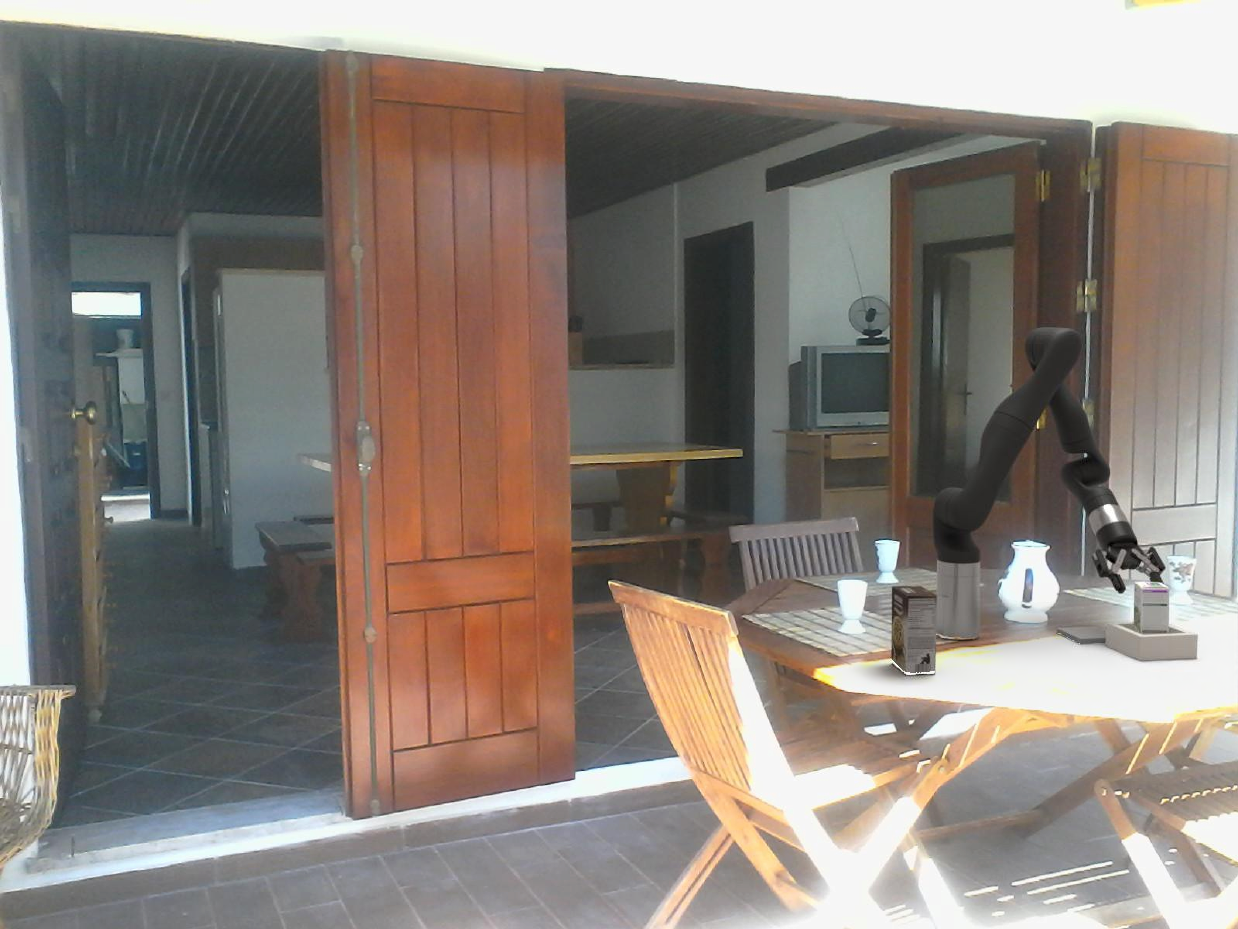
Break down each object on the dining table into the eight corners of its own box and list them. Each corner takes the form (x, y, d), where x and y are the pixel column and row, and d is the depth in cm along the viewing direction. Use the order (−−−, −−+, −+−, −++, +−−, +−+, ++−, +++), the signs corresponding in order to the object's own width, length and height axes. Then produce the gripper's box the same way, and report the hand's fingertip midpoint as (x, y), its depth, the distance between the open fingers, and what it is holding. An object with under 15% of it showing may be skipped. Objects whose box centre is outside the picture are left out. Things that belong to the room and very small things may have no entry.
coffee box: (889, 663, 222) (890, 585, 220) (920, 662, 222) (921, 585, 221) (904, 676, 212) (905, 595, 211) (936, 675, 213) (938, 594, 212)
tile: (1080, 644, 235) (1080, 638, 235) (1056, 633, 245) (1056, 628, 245) (1123, 642, 236) (1123, 637, 236) (1098, 631, 246) (1098, 626, 246)
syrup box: (1169, 656, 225) (1171, 587, 224) (1138, 654, 226) (1140, 586, 225) (1161, 649, 231) (1163, 581, 229) (1131, 647, 232) (1133, 580, 231)
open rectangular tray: (1139, 660, 222) (1140, 636, 221) (1105, 645, 234) (1106, 622, 233) (1196, 658, 223) (1197, 634, 223) (1159, 643, 235) (1160, 620, 235)
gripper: (1089, 520, 238) (1117, 582, 227) (1149, 518, 240) (1181, 579, 229) (1075, 540, 244) (1103, 602, 233) (1134, 538, 245) (1164, 599, 235)
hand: (1141, 590), depth 231 cm, fingers open, 8 cm apart
